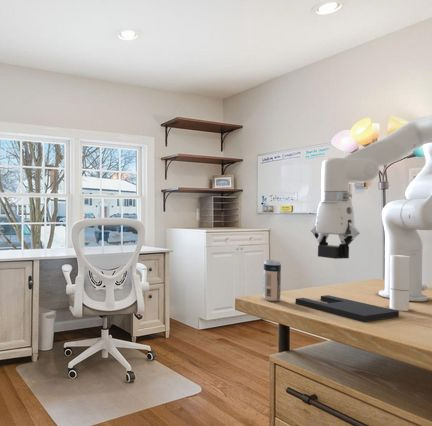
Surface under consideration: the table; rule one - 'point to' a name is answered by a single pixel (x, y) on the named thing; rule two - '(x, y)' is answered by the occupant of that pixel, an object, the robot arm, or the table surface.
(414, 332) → the table surface
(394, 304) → the tube
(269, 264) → the beer can
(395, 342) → the table surface
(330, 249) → the black block
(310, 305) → the dark blue flat slab
